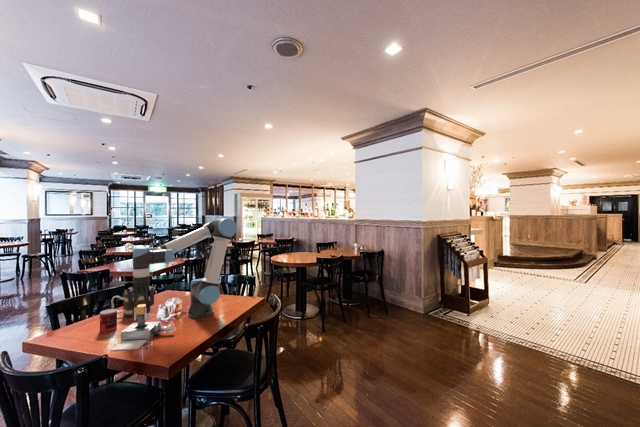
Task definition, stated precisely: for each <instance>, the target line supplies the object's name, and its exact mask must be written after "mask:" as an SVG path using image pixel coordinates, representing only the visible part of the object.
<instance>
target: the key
mask: <svg viewBox="0 0 640 427" xmlns="http://www.w3.org/2000/svg"><path fill="white" fill-rule="evenodd" d="M145 307H146V304H140V305H138V306H136V307H135V315H138V319H137V323H138V329H139V328H145V322H146V320H145Z"/></svg>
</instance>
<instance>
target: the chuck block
mask: <svg viewBox="0 0 640 427" xmlns="http://www.w3.org/2000/svg"><path fill="white" fill-rule="evenodd" d="M172 331H174V326H173V325H170V326H169V325H168V326H162V325H161V321H147V322H146V321H145V328H139V329H138V322H132V323H131V324H130V325H128V326H127V327H125V328H124V329H123V330H121V331H120V342H122V341H137V340H147V341H150V340H151V339H153V338H154V337H155V336H156V335H159V334H160V333H161V332H172Z"/></svg>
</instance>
